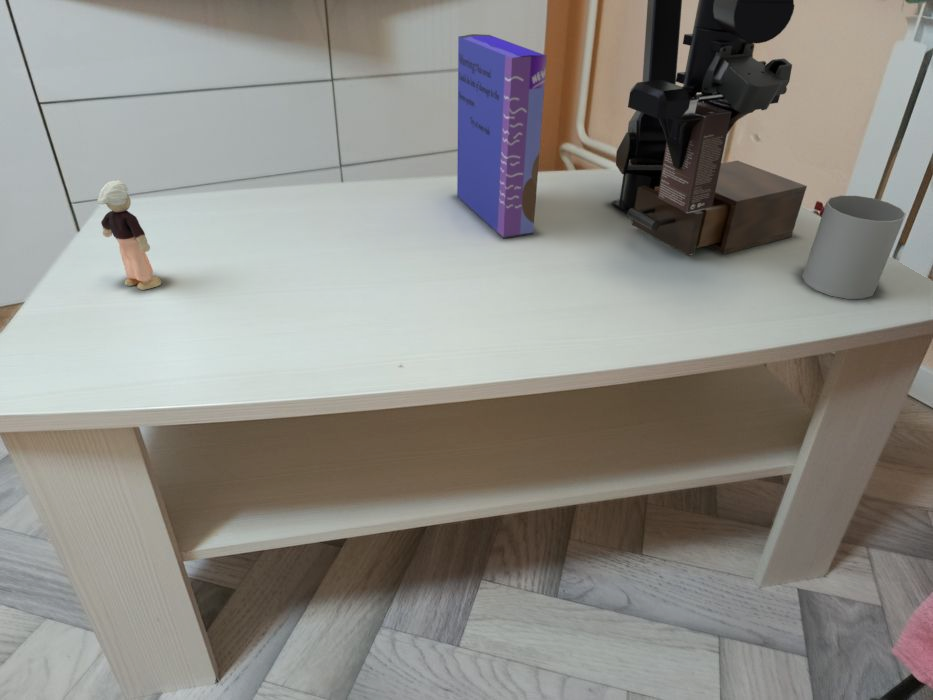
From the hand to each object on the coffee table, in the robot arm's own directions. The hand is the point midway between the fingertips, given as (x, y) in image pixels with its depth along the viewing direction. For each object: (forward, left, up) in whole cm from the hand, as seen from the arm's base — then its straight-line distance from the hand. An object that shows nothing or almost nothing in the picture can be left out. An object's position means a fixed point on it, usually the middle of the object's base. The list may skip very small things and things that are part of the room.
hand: (691, 165), depth 82 cm
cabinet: (-4, +14, -13) cm, 19 cm away
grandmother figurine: (-24, -64, -13) cm, 70 cm away
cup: (+15, +14, -13) cm, 24 cm away
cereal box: (-24, -14, -13) cm, 31 cm away
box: (0, 0, -5) cm, 5 cm away
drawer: (-4, +5, -12) cm, 13 cm away
